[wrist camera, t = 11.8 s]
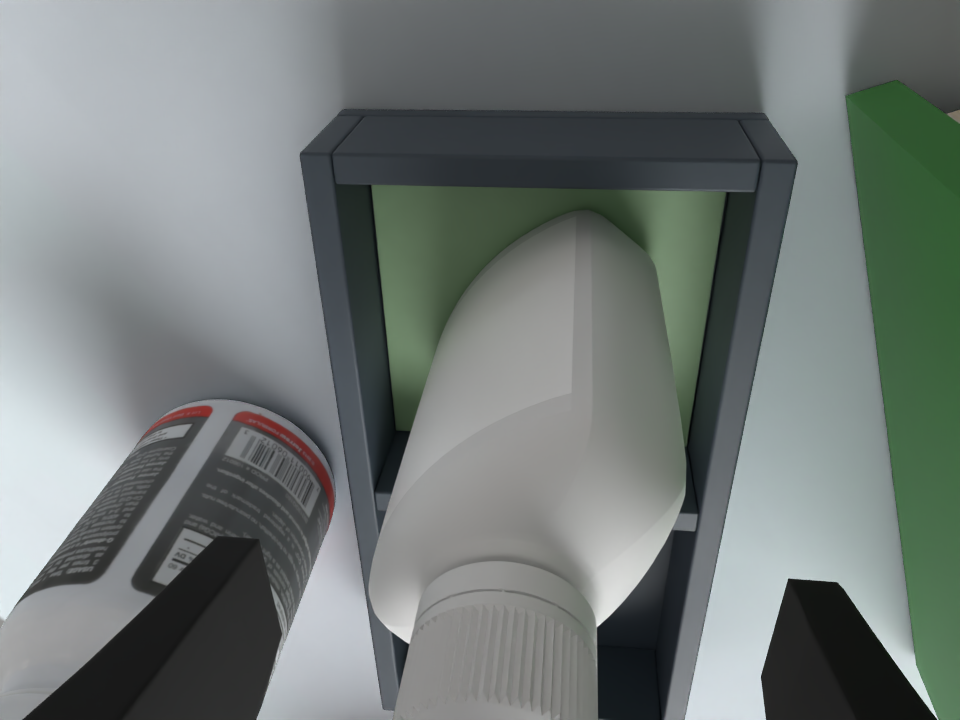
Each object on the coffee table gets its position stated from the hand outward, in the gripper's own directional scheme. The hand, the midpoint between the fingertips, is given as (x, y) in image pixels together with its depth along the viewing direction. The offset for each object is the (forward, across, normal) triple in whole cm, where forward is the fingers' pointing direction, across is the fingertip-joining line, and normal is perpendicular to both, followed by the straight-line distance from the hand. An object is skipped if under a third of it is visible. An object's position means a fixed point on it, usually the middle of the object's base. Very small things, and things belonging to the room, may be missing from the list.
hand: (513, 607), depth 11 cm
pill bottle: (+9, +9, +6) cm, 14 cm away
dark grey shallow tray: (+9, 0, +4) cm, 10 cm away
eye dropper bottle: (+8, 0, 0) cm, 9 cm away
